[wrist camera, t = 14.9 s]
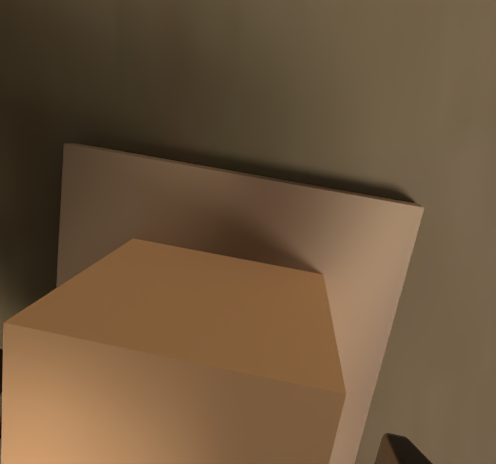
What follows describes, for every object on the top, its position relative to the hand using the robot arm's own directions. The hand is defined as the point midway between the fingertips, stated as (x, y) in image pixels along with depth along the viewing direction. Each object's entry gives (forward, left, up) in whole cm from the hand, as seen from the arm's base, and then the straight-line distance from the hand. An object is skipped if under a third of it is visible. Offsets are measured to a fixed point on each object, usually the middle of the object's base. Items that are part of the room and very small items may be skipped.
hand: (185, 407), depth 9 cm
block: (0, 0, -3) cm, 3 cm away
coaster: (0, 0, -4) cm, 4 cm away
